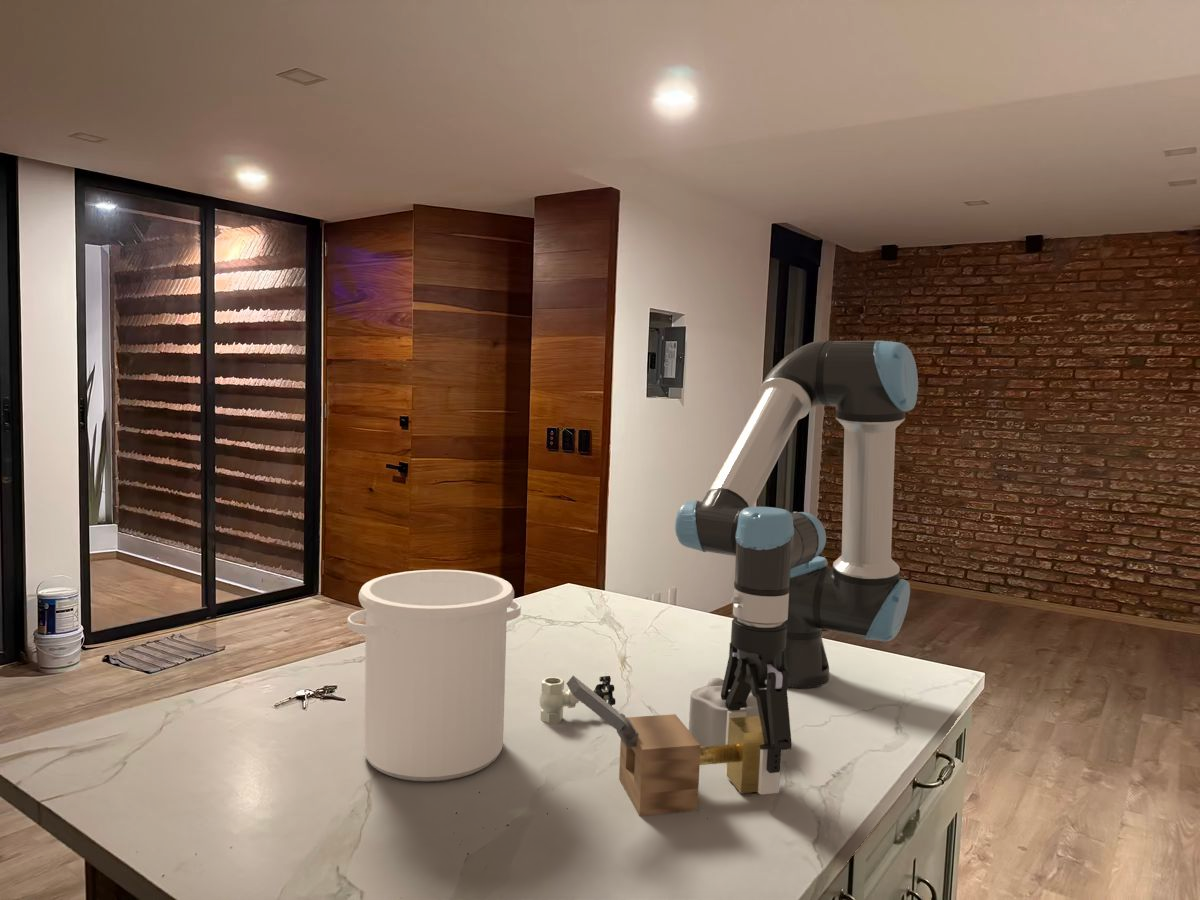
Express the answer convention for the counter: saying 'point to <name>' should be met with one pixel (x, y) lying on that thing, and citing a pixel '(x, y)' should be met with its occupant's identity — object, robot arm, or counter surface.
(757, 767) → the pin
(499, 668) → the bucket
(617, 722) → the lever
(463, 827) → the counter surface
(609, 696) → the valve
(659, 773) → the block
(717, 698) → the lumpy-topped squat cylinder
